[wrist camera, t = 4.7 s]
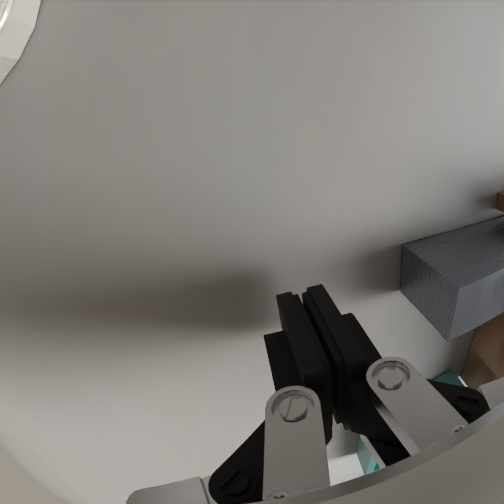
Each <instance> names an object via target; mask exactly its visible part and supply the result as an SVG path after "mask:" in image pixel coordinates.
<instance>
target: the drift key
mask: <svg viewBox="0 0 504 504" xmlns="http://www.w3.org/2000/svg"><path fill="white" fill-rule="evenodd" d="M400 292H401V293H402V294H403V295H404V296H405V297H406V298H407V299H408V300H409V301H410V302H411V303H412V304H413V305H414V306H415V307H416V308H417V309H418V310H419V311H420V312H421V313H422V314H423V315H424V316H425V318H426V319H427V320H428V321H429V322H430V323H431V324H432V325H433V326H434V327H435V328H436V329H437V331H438V332H439V333H440V334H441V335H442V336H443V337H444V338H445V339H446V341H447V342H449V341H451V340H453V339H455V338H457V337H459V336H461V335H463V334H465V333H467V332H469V331H471V330H472V329H474V328H476V327H478V326H480V325H482V324H484V323H485V322H487V321H489V320H491V319H492V318H494V317H496V316H498V315H499V314H501V313H503V312H504V216H501V217H498V218H495V219H491V220H488V221H485V222H481V223H478V224H474V225H471V226H468V227H464V228H461V229H457V230H454V231H450V232H447V233H443V234H439V235H436V236H432V237H429V238H425V239H421V240H418V241H414V242H410V243H406V244H403V245H402V270H401V290H400Z"/></svg>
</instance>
